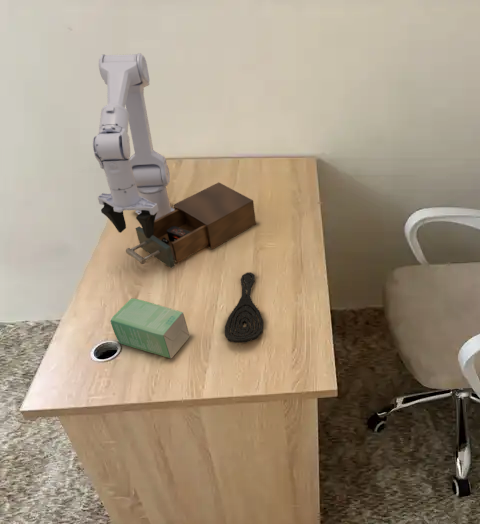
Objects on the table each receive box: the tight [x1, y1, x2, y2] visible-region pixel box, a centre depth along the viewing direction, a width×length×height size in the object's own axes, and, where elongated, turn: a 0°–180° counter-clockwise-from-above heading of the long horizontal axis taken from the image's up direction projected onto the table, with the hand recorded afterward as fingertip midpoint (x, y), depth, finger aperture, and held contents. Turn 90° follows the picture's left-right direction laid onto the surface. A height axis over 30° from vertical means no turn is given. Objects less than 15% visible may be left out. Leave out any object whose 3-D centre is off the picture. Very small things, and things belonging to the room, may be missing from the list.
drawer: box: [125, 209, 210, 269], centre depth 145 cm, size 20×13×6 cm, turn 139°
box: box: [110, 297, 190, 359], centre depth 121 cm, size 7×14×8 cm, turn 70°
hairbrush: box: [224, 271, 264, 344], centre depth 130 cm, size 8×4×25 cm
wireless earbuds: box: [161, 226, 190, 244], centre depth 146 cm, size 5×7×3 cm, turn 62°
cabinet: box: [173, 181, 257, 250], centre depth 154 cm, size 15×14×8 cm
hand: (136, 233), depth 137 cm, fingers open, 7 cm apart
